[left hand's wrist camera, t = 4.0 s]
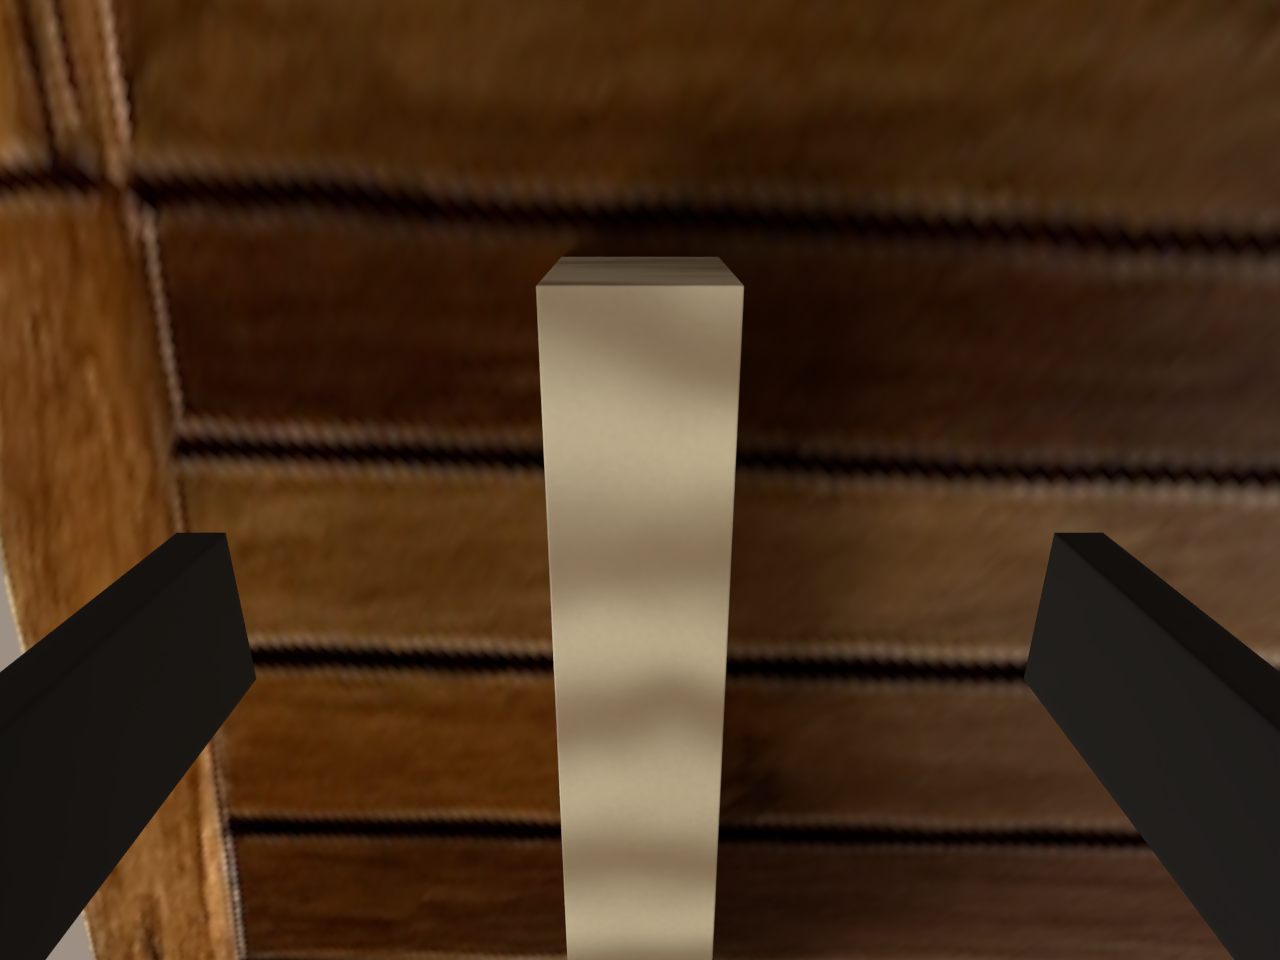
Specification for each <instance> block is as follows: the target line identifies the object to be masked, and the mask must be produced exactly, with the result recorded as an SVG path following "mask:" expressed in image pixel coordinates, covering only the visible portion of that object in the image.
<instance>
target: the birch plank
mask: <svg viewBox="0 0 1280 960" xmlns="http://www.w3.org/2000/svg"><path fill="white" fill-rule="evenodd" d="M536 298H537V319H538V340H539V362H540V383H541V404H542V426H543V447H544V468H545V490H546V511H547V532H548V554H549V575H550V596H551V618H552V639H553V660H554V682H555V703H556V724H557V746H558V767H559V788H560V809H561V831H562V852H563V873H564V895H565V916H566V937H567V959H568V960H712V959H713V938H714V916H715V895H716V874H717V852H718V831H719V810H720V788H721V767H722V746H723V724H724V703H725V682H726V660H727V639H728V618H729V597H730V575H731V554H732V533H733V511H734V490H735V469H736V447H737V426H738V405H739V383H740V362H741V341H742V319H743V298H744V286H743V284H742V283H741V282H740V281H739V280H738V279H737V278H736V276H735V275H734V274H733V273H732V272H731V271H730V270H729V268H728V267H727V266H726V265H725V264H724V263H723V262H722V260H721V259H720V258H719V257H561V258H560V259H559V260H558V262H557V263H556V264H555V265H554V266H553V267H552V268H551V270H550V271H549V272H548V273H547V274H546V275H545V276H544V278H543V279H542V280H541V281H540V282H539V283H538V284H537V286H536Z"/></svg>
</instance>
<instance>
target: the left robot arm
mask: <svg viewBox="0 0 1280 960" xmlns="http://www.w3.org/2000/svg"><path fill="white" fill-rule="evenodd" d="M255 680H256V676H255V671H254V666H253V661H252V657H251V652H250V647H249V642H248V638H247V633H246V628H245V623H244V619H243V614H242V609H241V604H240V600H239V595H238V590H237V585H236V581H235V576H234V571H233V566H232V562H231V557H230V552H229V547H228V543H227V538H226V533H176V534H175V535H174V536H172V537H171V538H170V539H169V540H167V541H166V542H165V543H163V544H162V545H161V546H160V547H158V548H157V549H156V550H155V551H153V552H152V553H151V554H150V555H148V556H147V557H146V558H144V559H143V560H142V561H141V562H139V563H138V564H137V565H136V566H134V567H133V568H132V569H131V570H129V571H128V572H127V573H125V574H124V575H123V576H122V577H120V578H119V579H118V580H117V581H115V582H114V583H113V584H112V585H110V586H109V587H108V588H106V589H105V590H104V591H103V592H101V593H100V594H99V595H98V596H96V597H95V598H94V599H93V600H91V601H90V602H89V603H87V604H86V605H85V606H84V607H82V608H81V609H80V610H79V611H77V612H76V613H75V614H73V615H72V616H71V617H70V618H68V619H67V620H66V621H65V622H63V623H62V624H61V625H60V626H58V627H57V628H56V629H54V630H53V631H52V632H51V633H49V634H48V635H47V636H46V637H44V638H43V639H42V640H41V641H39V642H38V643H37V644H35V645H34V646H33V647H32V648H30V649H29V650H28V651H27V652H25V653H24V654H23V655H22V656H20V657H19V658H18V659H16V660H15V661H14V662H13V663H11V664H10V665H9V666H8V667H6V668H5V669H4V670H3V671H1V672H0V960H46V958H47V957H48V956H49V954H50V953H51V952H52V950H53V949H54V948H55V946H56V945H57V944H58V942H59V941H60V940H61V938H62V937H63V936H64V934H65V933H66V932H67V930H68V929H69V928H70V926H71V925H72V924H73V922H74V921H75V920H76V918H77V917H78V916H79V914H80V913H81V912H82V910H83V909H84V908H85V906H86V905H87V904H88V902H89V901H90V900H91V898H92V897H93V896H94V894H95V893H96V892H97V890H98V889H99V888H100V886H101V885H102V884H103V882H104V881H105V880H106V878H107V877H108V876H109V874H110V873H111V872H112V870H113V869H114V868H115V866H116V865H117V864H118V862H119V861H120V860H121V858H122V857H123V856H124V854H125V853H126V852H127V850H128V849H129V848H130V846H131V845H132V844H133V842H134V841H135V840H136V838H137V837H138V836H139V834H140V833H141V832H142V830H143V829H144V828H145V826H146V825H147V824H148V822H149V821H150V820H151V818H152V817H153V816H154V814H155V813H156V812H157V810H158V809H159V808H160V806H161V805H162V804H163V802H164V801H165V800H166V798H167V797H168V796H169V794H170V793H171V792H172V790H173V789H174V788H175V786H176V785H177V784H178V782H179V781H180V780H181V778H182V777H183V776H184V774H185V773H186V772H187V770H188V769H189V768H190V766H191V765H192V764H193V762H194V761H195V760H196V758H197V757H198V756H199V754H200V753H201V752H202V750H203V749H204V748H205V746H206V745H207V744H208V742H209V741H210V740H211V738H212V737H213V736H214V734H215V733H216V732H217V730H218V729H219V728H220V726H221V725H222V724H223V722H224V721H225V720H226V718H227V717H228V716H229V715H230V713H231V712H232V711H233V709H234V708H235V707H236V705H237V704H238V703H239V701H240V700H241V699H242V697H243V696H244V695H245V693H246V692H247V691H248V689H249V688H250V687H251V685H252V684H253V683H254V681H255ZM1024 680H1025V681H1026V683H1027V684H1028V685H1029V687H1030V688H1031V689H1032V691H1033V692H1034V693H1035V695H1036V696H1037V697H1038V699H1039V700H1040V701H1041V703H1042V704H1043V705H1044V707H1045V708H1046V709H1047V711H1048V712H1049V713H1050V715H1051V716H1052V717H1053V719H1054V720H1055V721H1056V722H1057V724H1058V725H1059V726H1060V728H1061V729H1062V730H1063V732H1064V733H1065V734H1066V736H1067V737H1068V738H1069V740H1070V741H1071V742H1072V744H1073V745H1074V746H1075V748H1076V749H1077V750H1078V752H1079V753H1080V754H1081V756H1082V757H1083V758H1084V760H1085V761H1086V762H1087V764H1088V765H1089V766H1090V768H1091V769H1092V770H1093V772H1094V773H1095V774H1096V776H1097V777H1098V778H1099V780H1100V781H1101V782H1102V784H1103V785H1104V786H1105V788H1106V789H1107V790H1108V792H1109V793H1110V794H1111V796H1112V797H1113V798H1114V800H1115V801H1116V802H1117V804H1118V805H1119V806H1120V808H1121V809H1122V810H1123V812H1124V813H1125V814H1126V816H1127V817H1128V818H1129V820H1130V821H1131V822H1132V824H1133V825H1134V826H1135V828H1136V829H1137V830H1138V832H1139V833H1140V834H1141V836H1142V837H1143V838H1144V840H1145V841H1146V842H1147V844H1148V845H1149V846H1150V848H1151V849H1152V850H1153V852H1154V853H1155V854H1156V856H1157V857H1158V858H1159V860H1160V861H1161V862H1162V864H1163V865H1164V866H1165V868H1166V869H1167V870H1168V872H1169V873H1170V874H1171V876H1172V877H1173V878H1174V880H1175V881H1176V882H1177V884H1178V885H1179V886H1180V888H1181V889H1182V890H1183V892H1184V893H1185V894H1186V896H1187V897H1188V898H1189V900H1190V901H1191V902H1192V904H1193V905H1194V906H1195V908H1196V909H1197V910H1198V912H1199V913H1200V914H1201V916H1202V917H1203V918H1204V920H1205V921H1206V922H1207V924H1208V925H1209V926H1210V928H1211V929H1212V930H1213V932H1214V933H1215V934H1216V936H1217V937H1218V938H1219V940H1220V941H1221V942H1222V944H1223V945H1224V946H1225V948H1226V949H1227V950H1228V952H1229V953H1230V954H1231V956H1232V957H1233V958H1234V960H1280V672H1279V671H1277V670H1276V669H1275V668H1274V667H1272V666H1271V665H1270V664H1269V663H1267V662H1266V661H1265V660H1264V659H1262V658H1261V657H1260V656H1258V655H1257V654H1256V653H1255V652H1253V651H1252V650H1251V649H1250V648H1248V647H1247V646H1246V645H1245V644H1243V643H1242V642H1241V641H1239V640H1238V639H1237V638H1236V637H1234V636H1233V635H1232V634H1231V633H1229V632H1228V631H1227V630H1226V629H1224V628H1223V627H1222V626H1220V625H1219V624H1218V623H1217V622H1215V621H1214V620H1213V619H1212V618H1210V617H1209V616H1208V615H1207V614H1205V613H1204V612H1203V611H1201V610H1200V609H1199V608H1198V607H1196V606H1195V605H1194V604H1193V603H1191V602H1190V601H1189V600H1187V599H1186V598H1185V597H1184V596H1182V595H1181V594H1180V593H1179V592H1177V591H1176V590H1175V589H1174V588H1172V587H1171V586H1170V585H1168V584H1167V583H1166V582H1165V581H1163V580H1162V579H1161V578H1160V577H1158V576H1157V575H1156V574H1155V573H1153V572H1152V571H1151V570H1149V569H1148V568H1147V567H1146V566H1144V565H1143V564H1142V563H1141V562H1139V561H1138V560H1137V559H1136V558H1134V557H1133V556H1132V555H1130V554H1129V553H1128V552H1127V551H1125V550H1124V549H1123V548H1122V547H1120V546H1119V545H1118V544H1117V543H1115V542H1114V541H1113V540H1111V539H1110V538H1109V537H1108V536H1106V535H1105V534H1104V533H1054V538H1053V543H1052V547H1051V552H1050V557H1049V562H1048V566H1047V571H1046V576H1045V581H1044V585H1043V590H1042V595H1041V600H1040V604H1039V609H1038V614H1037V619H1036V623H1035V628H1034V633H1033V638H1032V642H1031V647H1030V652H1029V657H1028V661H1027V666H1026V671H1025V676H1024Z"/></svg>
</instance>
